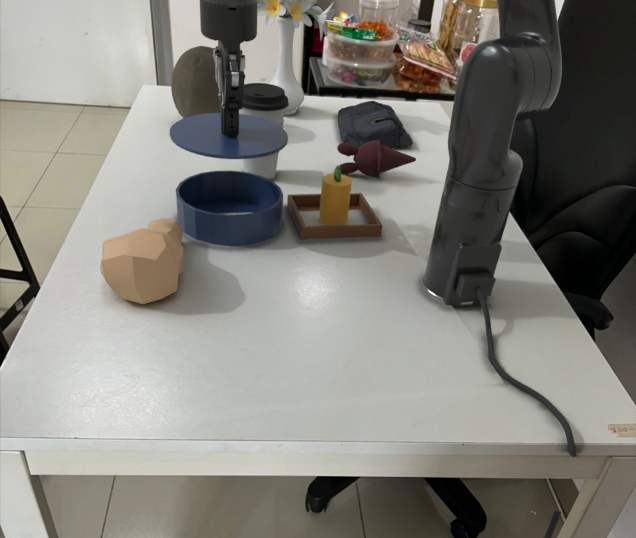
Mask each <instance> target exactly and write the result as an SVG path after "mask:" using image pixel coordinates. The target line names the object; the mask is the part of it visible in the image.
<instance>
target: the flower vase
mask: <svg viewBox="0 0 636 538" xmlns="http://www.w3.org/2000/svg"><path fill="white" fill-rule="evenodd" d="M317 1H318V0H258V6H257V17H258V16H259V17H262V16H265V19H264V24H265V26H266V28H270V27H272V25H273V23H274V21H275V18H276V21H277V24H278V34H279V42H278V57H277V65H276V70H275V72H274V74H273V77H272V78H271V80H270V81H269V82H268V83H267V84H272V85H276V86H279V87H281V88H282V89H284V91H285V96H287V98H288V103H289V105H288V107H286V108H285V110H284V116H290V115H291V116H292V115H294V114H296V113H297V111H298V109H297V108H300V107H301V105H302V104H303V102H304V100H305V93H304V89H303V87H302V86H301V85H300V83H299V82H298V80H297V77H296V76H295V72H294V71H295V70H294V65H293V63H294V62H293V61H294V60H293V58H294V57H293V56H294V55H293V53H294V38H295V37H294V35H295V31H296V29H299V27H300V26H301V23H303V24H304V25H306V26H307V27H312V26H313V22H312V20H311V18H310V17H309V16H312V17H313V18H314V19H315V20H316V21H317V22H318V27H319V37H320V38H319V39H320V41H322V39H323V37H324V36H327V35H328V32H329V23H328V21H329V20H331V19H332V18H333V16H334V15H335V13H336V9H335V8H333V7H334V5H335V1H333V2H332V3H330V5H329V6H328V7H327V8H326V9H325V10H324V11H323V9H322V8H321V7H320V6H317V5H316V3H317Z"/></svg>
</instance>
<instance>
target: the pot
mask: <svg viewBox="0 0 636 538" xmlns="http://www.w3.org/2000/svg"><path fill="white" fill-rule="evenodd" d="M175 200H176V214H177V215H176V216H177V222H178V224H179V225H180V227H181V228H182V230H183V233H184V234H185V235H187V236H188V237H190V238H192V239H194V240H196V241H199V242H203V243H206V244H209V245H210V244H211V245H217V246H225V247H238V246H240V247H241V246H251V245H254V244H259V243H263V242H266V241H267V240H269V239H271V238H274V236H276V235H277V234H278V233H279V232H280V231H281V228H282V224H283V210H284V209H283V208H284V193H283V191H282V188H281V187H280V186H279V185H278V184H277V183H276V182H274V181H273V180H272V179H267V178H265V177H262V176H260V175H256V174H252V173H248V172H244V171H239V170H211V171H204V172H199V173H197V174H194V175H190V176H188V177H186V178H184V179H183V180H181V181H180V182H179V184H177V186H176V188H175Z"/></svg>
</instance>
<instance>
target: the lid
mask: <svg viewBox="0 0 636 538" xmlns="http://www.w3.org/2000/svg"><path fill="white" fill-rule="evenodd" d="M229 99H236V97H229ZM169 137H170V140H171V141H172V143H173V144H174V145H176V146H177V147H179V149H182V150H184V151H186V152H189V153H191V154H194V155H195V154H196V155H199V156H203V157H207V158H212V159H213V158H214V159H221V160H243V159H251V158H259V157H264V156H268V155H271V154H274V153H276V152H278V151H279V152H281V151H282V150H283V149H284V148H286V146H287V145H288V143H289V135H288V132H287V131H286V130H285V129H284V127H283V128H282V127H281V126H279V125H277V124H276V123H273V122H271V121H269V120H266V119H263V118H259V117H255V116H250V115H245V114H239V135H238V136H225V135H224V132H223V107H222V92H221V113H207V114H199V115H194V116H190V117H186V118H181V119H179V120H177V121H176V122H174V123H173V124H172V125H171V126H170V128H169Z"/></svg>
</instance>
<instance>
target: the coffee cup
mask: <svg viewBox="0 0 636 538" xmlns="http://www.w3.org/2000/svg"><path fill="white" fill-rule="evenodd" d="M288 105H289V103H288V98H287V96H285V91H284V89H282V88H281V87H279V86H276V85H272V84H268V83H264V82H250V83H244V92H243V107H242V109H240V110H239V114H245V115H250V116H255V117H259V118H263V119H266V120H269V121H271V122H273V123H276V124H277V125H279V126H281V127H282V128H283V129H284V123H285V119H284V117H285V115H284V110H285V108H286V107H288ZM279 153H280V151H278V152H276V153H274V154H271V155H268V156H264V157H259V158H251V159H242V164H243V166H242V167H243V172H248V173H252V174H256V175H260V176H262V177H265V178H267V179H269V180H272V179H274V178H275V177H276V174H277V167H278V159H279Z"/></svg>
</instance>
